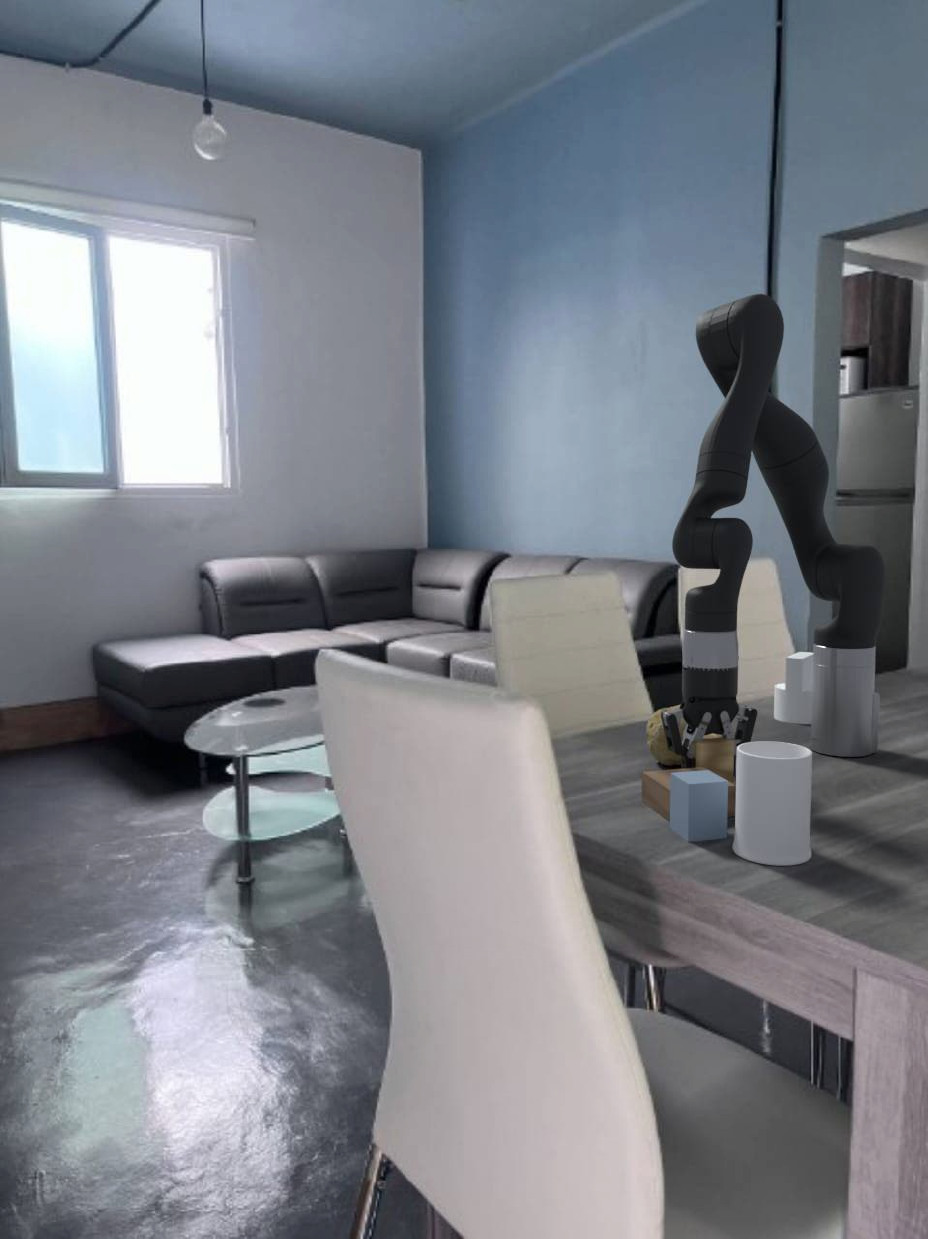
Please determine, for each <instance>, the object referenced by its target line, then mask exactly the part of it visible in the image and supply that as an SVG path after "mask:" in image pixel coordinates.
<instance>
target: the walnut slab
mask: <svg viewBox="0 0 928 1239" xmlns="http://www.w3.org/2000/svg"><path fill="white" fill-rule="evenodd" d="M702 770H708V769H706V768H704V767H699V768H685V769H681V768H674V769H662V770H661V769H660V770H650V771H649V770H648V771H641V802H643V803H644V804H645V805H647V806H648V807H649V808H651V809H652V810H653V811H655V812H656V813H657V814H659V815H661V816H662V817H663V818H664V819H665V820H667V821H668V822H670V773H676V772H689V771H702ZM709 771H710V770H709ZM714 774H715V773H714ZM716 775H717V774H716ZM718 776H719V775H718ZM721 778H722V777H721ZM723 779H724V778H723ZM725 780H726V779H725ZM727 781H728V780H727ZM735 810H736V783H734V782H733V783H731V782H729V781H728V808H727V818H730V817H735Z"/></svg>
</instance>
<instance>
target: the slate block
mask: <svg viewBox="0 0 928 1239" xmlns="http://www.w3.org/2000/svg"><path fill="white" fill-rule="evenodd" d="M727 808H728V781H727V780H725V779H723V778H721V777H720V776H718V775H716V774H714V773H713V772H711V771H709V770H702V771H689V772H676V773H670V821H669V829H670V830H672V831H673V832H674V833H676V834H677V836H679V837H681V838H682V839H683V840H685V841H686V842H687V843H690V842H691V843H692V842H701V841H702V842H703V841H710V840H722V839H728V817H727Z"/></svg>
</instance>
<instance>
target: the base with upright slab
mask: <svg viewBox="0 0 928 1239" xmlns="http://www.w3.org/2000/svg"><path fill="white" fill-rule="evenodd" d="M784 674H785V677H784V678H785V680H784V681H785V682H782V683H778V684H775V685H774V700H773V701H774V703H773V704H774V705H773V718H774V719H775V720H776V721H779V722H783V723H788V724H790V723H791V724H800V725H811V717H812V684H813V652H810V651H809V652H807V651H797V652H796V653H793V654H791V655H789V656H786V657H785V673H784Z"/></svg>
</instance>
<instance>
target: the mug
mask: <svg viewBox="0 0 928 1239" xmlns="http://www.w3.org/2000/svg"><path fill="white" fill-rule="evenodd" d="M812 766H813V750H812V749H811V748H808V747H805V746H803V745H800V744H794V743H789V742H782V741H772V740H769V741H768V740H766V741H765V740H762V741H761V740H759V741H751V742H748V743H743V744H740V745H739V746H738V747H737V754H736V773H735V785H736V810H735V816H734V818H735V819H734V821H735V822H734V823H735V824H734V839H733V843H732V845H731V846H732V851H733V852H734V854H735V855H737V856H738V857H740V858H741V859H744V860H746V861H749V862H751V863H756V864H761V865H767V866H776V867H787V866H788V867H789V866H790V867H791V866H796V865H797V866H798V865H801V864H804V863H806V862H808V861H810V860H811V858H812V850H811V838H810V837H811V836H810V835H811V804H812V802H811V801H812V800H811V799H812V777H813V776H812V770H813V767H812Z"/></svg>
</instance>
